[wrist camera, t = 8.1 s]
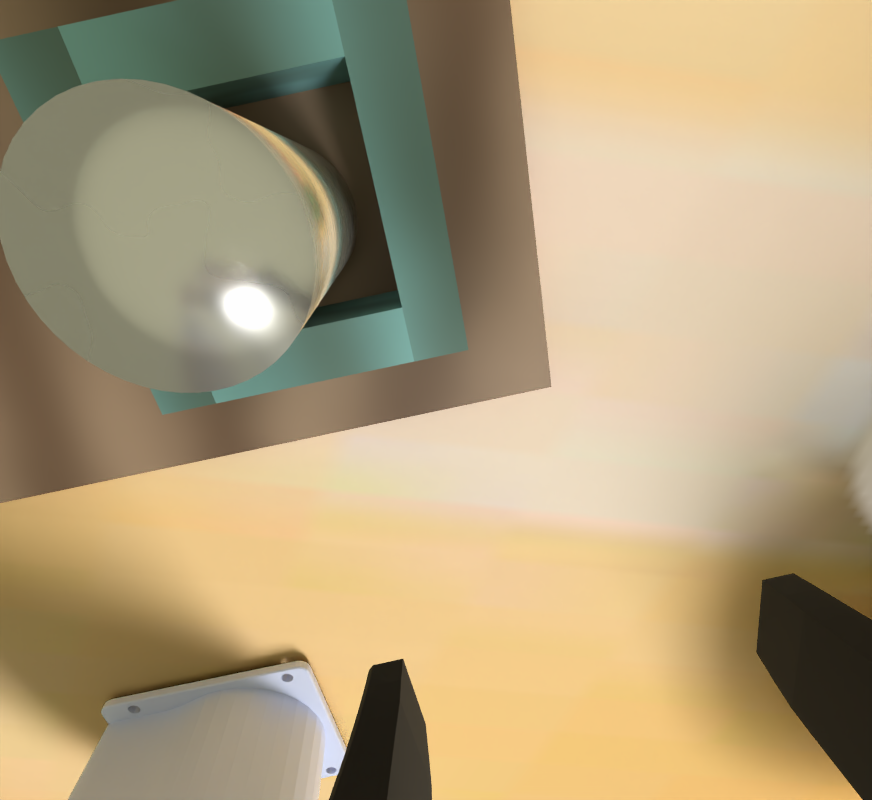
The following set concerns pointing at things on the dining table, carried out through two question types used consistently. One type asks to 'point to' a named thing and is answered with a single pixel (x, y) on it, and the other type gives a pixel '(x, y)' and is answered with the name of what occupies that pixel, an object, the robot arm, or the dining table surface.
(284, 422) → the socket board
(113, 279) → the steel pin
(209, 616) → the dining table surface
